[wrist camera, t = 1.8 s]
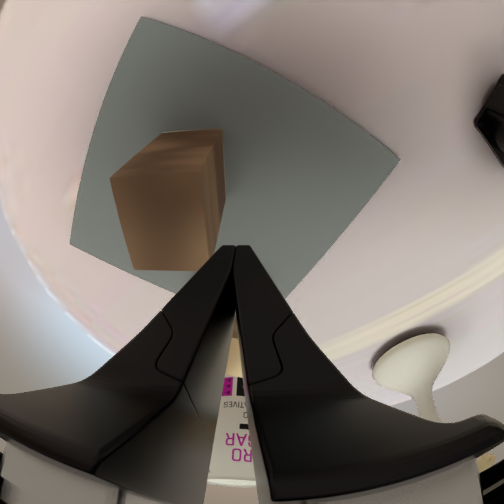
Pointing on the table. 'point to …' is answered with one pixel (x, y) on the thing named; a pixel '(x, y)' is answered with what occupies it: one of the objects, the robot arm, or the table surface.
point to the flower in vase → (418, 375)
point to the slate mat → (230, 153)
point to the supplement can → (232, 440)
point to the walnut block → (172, 200)
